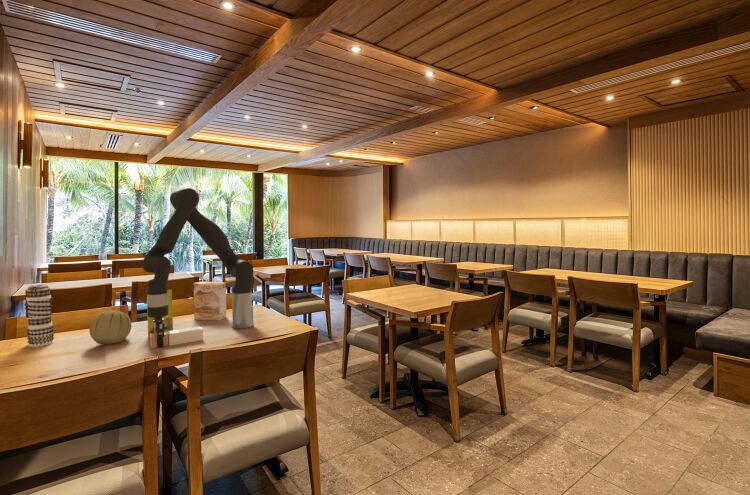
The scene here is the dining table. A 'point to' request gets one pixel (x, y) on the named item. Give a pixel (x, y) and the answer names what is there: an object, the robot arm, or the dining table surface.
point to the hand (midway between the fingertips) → (159, 344)
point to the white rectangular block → (185, 335)
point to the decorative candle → (39, 316)
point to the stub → (154, 340)
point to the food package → (167, 319)
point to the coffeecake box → (209, 300)
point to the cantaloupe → (110, 327)
